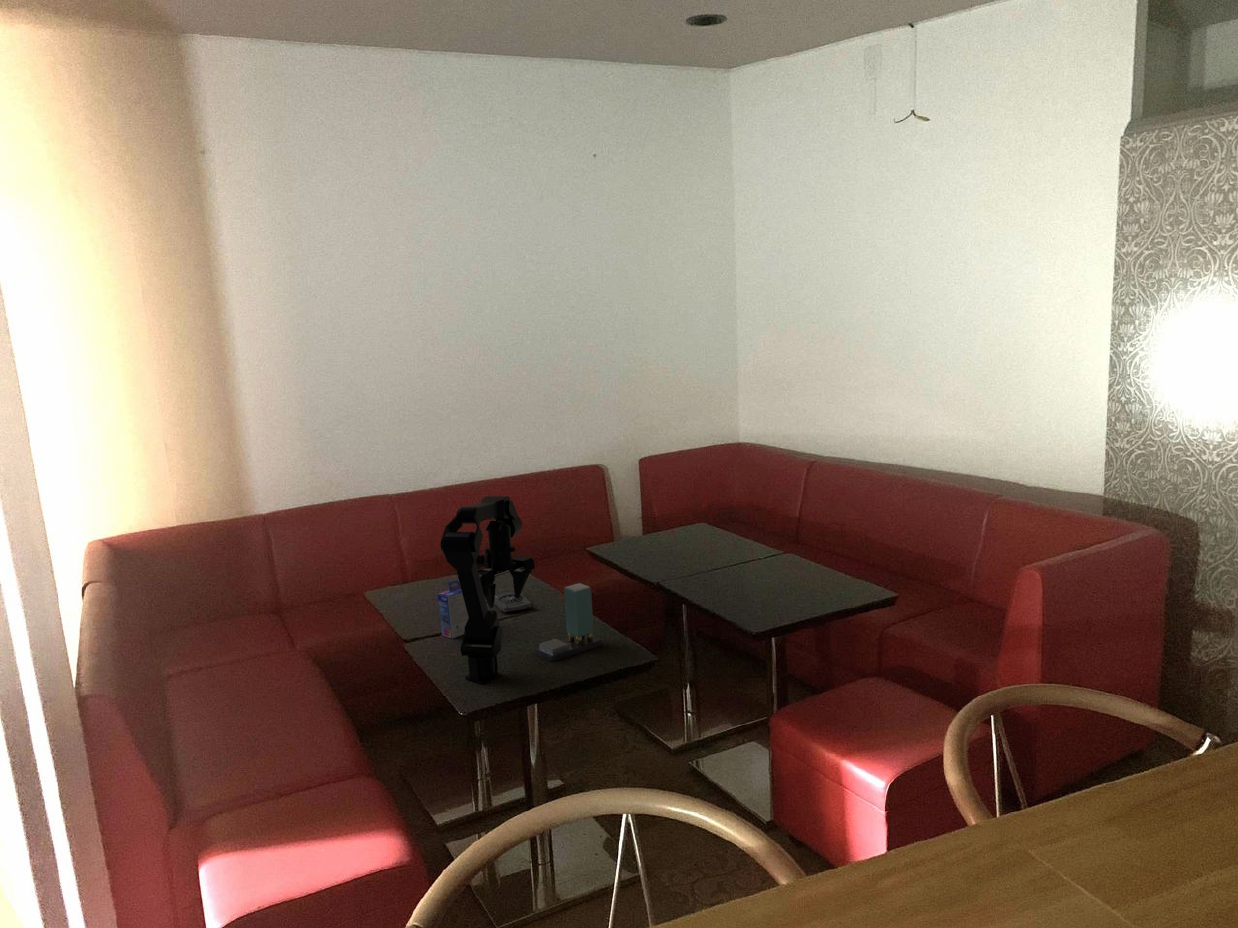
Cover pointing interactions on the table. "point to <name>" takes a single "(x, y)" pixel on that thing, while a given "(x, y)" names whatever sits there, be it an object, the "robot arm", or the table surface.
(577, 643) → the chassis
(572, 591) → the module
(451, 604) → the ink cartridge box
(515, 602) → the graphics card
